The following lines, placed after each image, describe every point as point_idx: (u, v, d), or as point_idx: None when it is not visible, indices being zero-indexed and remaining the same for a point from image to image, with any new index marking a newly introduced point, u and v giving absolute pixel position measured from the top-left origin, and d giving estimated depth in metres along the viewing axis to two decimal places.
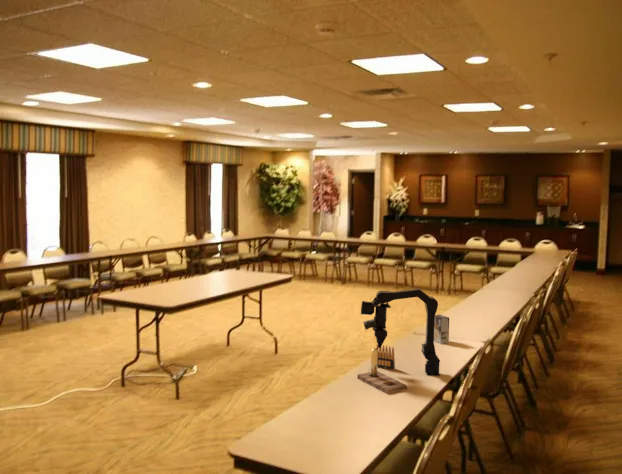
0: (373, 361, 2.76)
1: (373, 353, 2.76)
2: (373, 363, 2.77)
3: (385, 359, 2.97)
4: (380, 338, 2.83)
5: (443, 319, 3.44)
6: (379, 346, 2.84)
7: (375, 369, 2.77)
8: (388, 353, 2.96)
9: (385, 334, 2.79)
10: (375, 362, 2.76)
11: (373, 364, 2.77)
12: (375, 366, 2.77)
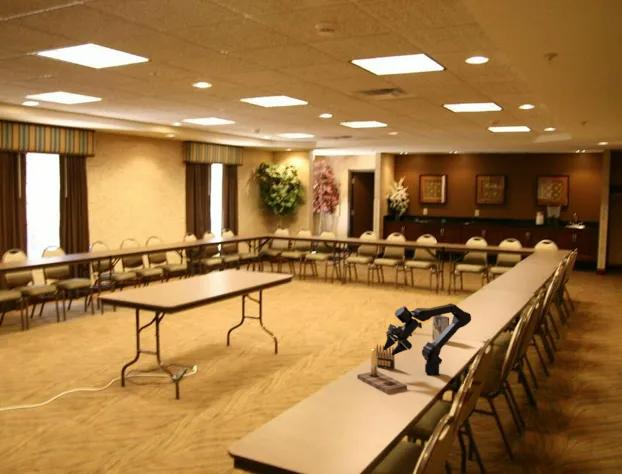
0: (373, 361, 2.76)
1: (373, 353, 2.76)
2: (373, 363, 2.77)
3: (385, 359, 2.97)
4: (400, 347, 2.75)
5: (443, 319, 3.44)
6: (393, 353, 2.75)
7: (375, 369, 2.77)
8: (388, 353, 2.96)
9: (410, 347, 2.73)
10: (375, 362, 2.76)
11: (373, 364, 2.77)
12: (375, 366, 2.77)
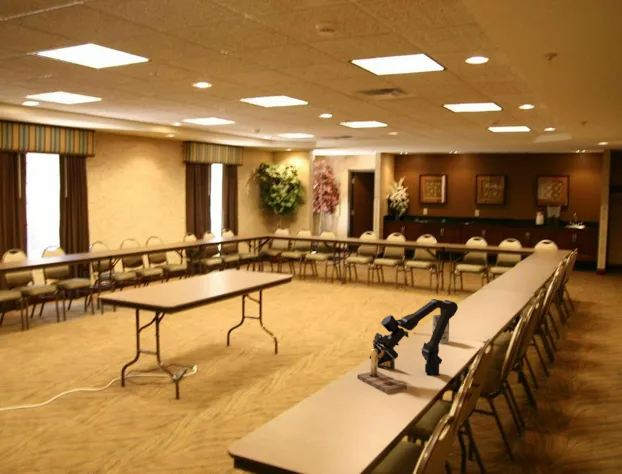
0: (373, 361, 2.76)
1: (373, 353, 2.76)
2: (373, 363, 2.77)
3: None
4: (386, 357, 2.73)
5: None
6: (379, 363, 2.73)
7: (375, 369, 2.77)
8: None
9: (396, 356, 2.71)
10: (375, 362, 2.76)
11: (373, 364, 2.77)
12: (375, 366, 2.77)
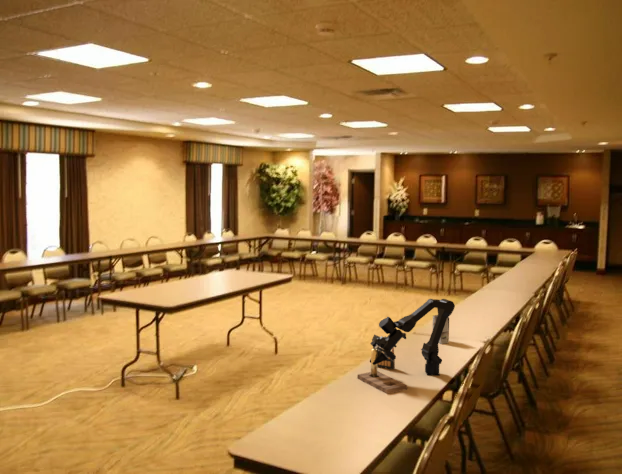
0: (373, 361, 2.76)
1: (373, 353, 2.76)
2: None
3: None
4: (381, 357, 2.76)
5: None
6: (374, 363, 2.76)
7: (375, 369, 2.77)
8: None
9: (393, 358, 2.71)
10: None
11: None
12: (375, 366, 2.77)
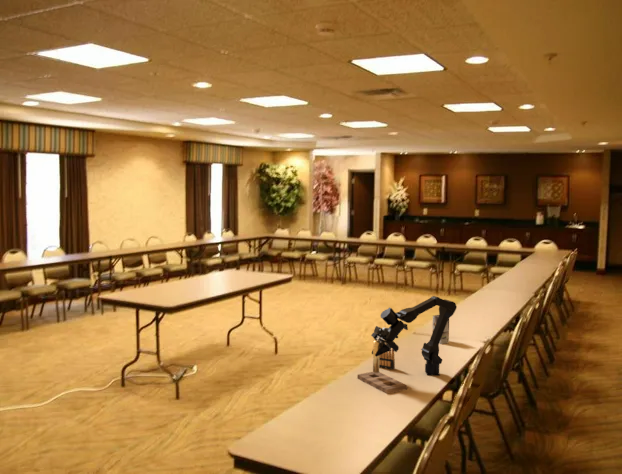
0: (375, 353, 2.74)
1: (375, 344, 2.74)
2: None
3: (385, 359, 2.97)
4: (383, 348, 2.73)
5: None
6: (377, 354, 2.73)
7: (377, 361, 2.75)
8: (388, 353, 2.96)
9: (396, 349, 2.69)
10: None
11: (375, 356, 2.74)
12: (377, 358, 2.74)
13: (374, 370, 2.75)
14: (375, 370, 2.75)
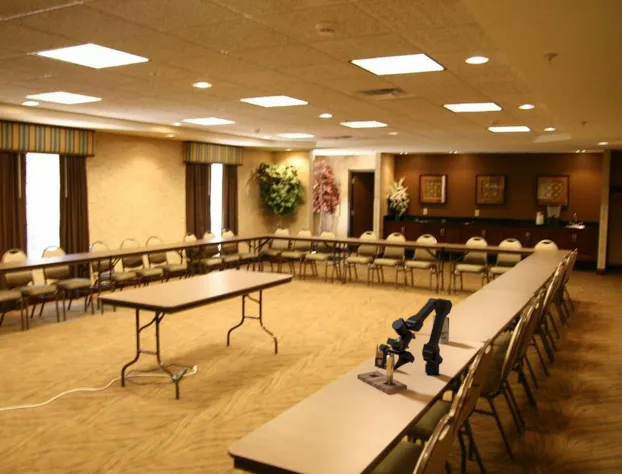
0: (390, 368, 2.65)
1: (390, 360, 2.65)
2: (390, 370, 2.66)
3: None
4: (401, 361, 2.64)
5: None
6: (395, 368, 2.63)
7: (392, 376, 2.66)
8: None
9: (413, 360, 2.63)
10: (392, 369, 2.66)
11: (390, 371, 2.66)
12: (392, 373, 2.66)
13: None
14: None
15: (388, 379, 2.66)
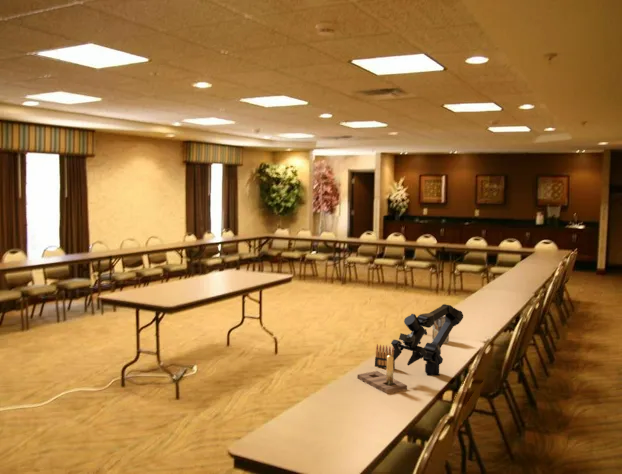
0: (390, 368, 2.65)
1: (390, 360, 2.65)
2: (390, 370, 2.66)
3: (385, 359, 2.97)
4: (414, 356, 2.69)
5: (443, 319, 3.44)
6: (409, 363, 2.68)
7: (392, 376, 2.66)
8: (388, 353, 2.96)
9: (425, 355, 2.69)
10: (392, 369, 2.66)
11: (390, 371, 2.66)
12: (392, 373, 2.66)
13: None
14: None
15: (388, 379, 2.66)
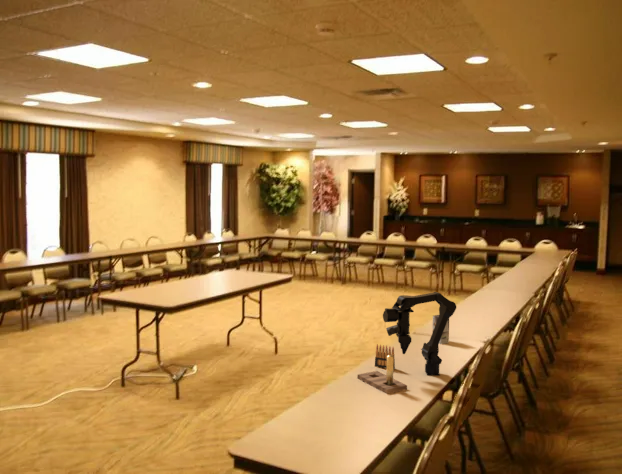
0: (390, 368, 2.65)
1: (390, 360, 2.65)
2: (390, 370, 2.66)
3: (385, 359, 2.97)
4: (404, 344, 2.77)
5: None
6: (403, 352, 2.78)
7: (392, 376, 2.66)
8: (388, 353, 2.96)
9: (409, 340, 2.73)
10: (392, 369, 2.66)
11: (390, 371, 2.66)
12: (392, 373, 2.66)
13: None
14: None
15: (388, 379, 2.66)
